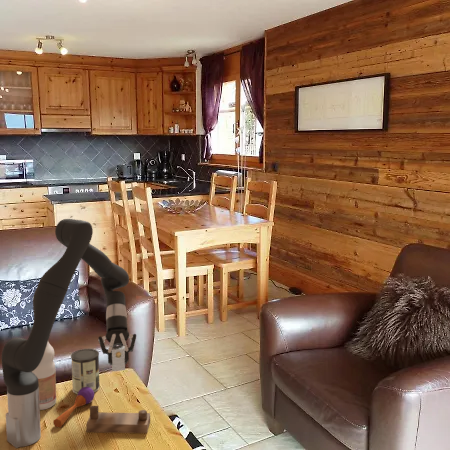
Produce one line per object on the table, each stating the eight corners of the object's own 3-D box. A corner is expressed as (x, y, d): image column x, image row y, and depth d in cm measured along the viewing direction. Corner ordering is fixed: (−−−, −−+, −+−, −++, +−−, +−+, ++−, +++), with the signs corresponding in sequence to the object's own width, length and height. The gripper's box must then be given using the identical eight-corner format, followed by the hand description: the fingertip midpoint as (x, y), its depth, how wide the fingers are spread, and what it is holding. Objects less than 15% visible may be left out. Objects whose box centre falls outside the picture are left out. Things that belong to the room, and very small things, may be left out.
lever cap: (112, 371, 174) (111, 350, 173) (111, 367, 177) (111, 346, 176) (125, 370, 175) (124, 349, 174) (124, 366, 178) (124, 345, 177)
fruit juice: (46, 412, 174) (44, 337, 169) (23, 408, 176) (19, 334, 171) (61, 399, 183) (59, 327, 178) (39, 395, 185) (36, 324, 180)
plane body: (86, 432, 163) (85, 412, 162) (91, 420, 170) (91, 401, 169) (147, 433, 163) (147, 413, 162) (150, 421, 170) (150, 402, 169)
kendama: (48, 415, 165) (81, 383, 184) (52, 431, 167) (85, 398, 185) (62, 415, 164) (95, 383, 182) (67, 431, 165) (99, 398, 183)
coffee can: (86, 379, 198) (85, 346, 196) (105, 386, 193) (104, 352, 191) (66, 390, 190) (65, 355, 187) (85, 397, 184) (84, 362, 182)
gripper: (96, 315, 179) (97, 361, 169) (136, 313, 182) (139, 358, 173) (96, 324, 185) (97, 369, 175) (135, 321, 188) (138, 365, 179)
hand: (118, 363), depth 174 cm, fingers closed on lever cap, 4 cm apart
